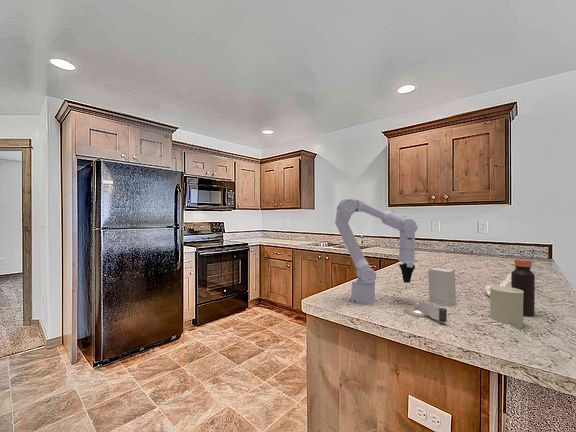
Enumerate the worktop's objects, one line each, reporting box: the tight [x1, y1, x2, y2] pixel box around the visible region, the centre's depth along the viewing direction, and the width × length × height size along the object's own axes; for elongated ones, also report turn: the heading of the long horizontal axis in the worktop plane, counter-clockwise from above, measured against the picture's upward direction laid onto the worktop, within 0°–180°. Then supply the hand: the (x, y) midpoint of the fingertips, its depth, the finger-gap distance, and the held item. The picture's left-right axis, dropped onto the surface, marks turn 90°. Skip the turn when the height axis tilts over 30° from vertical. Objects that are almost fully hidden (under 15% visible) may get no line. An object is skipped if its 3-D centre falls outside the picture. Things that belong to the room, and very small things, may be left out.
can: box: [489, 285, 525, 329], centre depth 97 cm, size 9×9×12 cm
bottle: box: [510, 258, 536, 317], centre depth 107 cm, size 7×7×20 cm
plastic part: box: [483, 272, 512, 298], centre depth 128 cm, size 8×10×12 cm
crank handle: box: [403, 300, 448, 323], centre depth 99 cm, size 17×9×5 cm, turn 17°
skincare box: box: [428, 267, 457, 307], centre depth 115 cm, size 8×6×15 cm
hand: (406, 282), depth 115 cm, fingers closed
